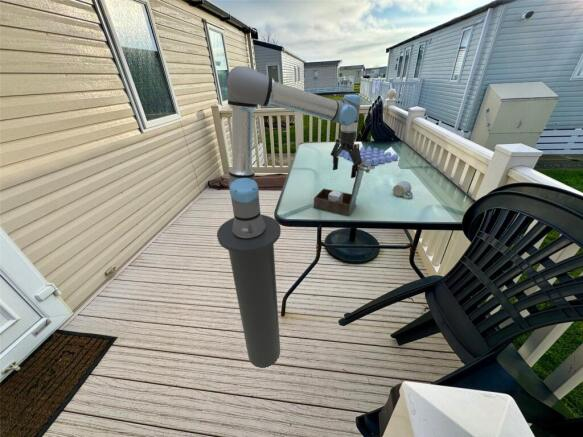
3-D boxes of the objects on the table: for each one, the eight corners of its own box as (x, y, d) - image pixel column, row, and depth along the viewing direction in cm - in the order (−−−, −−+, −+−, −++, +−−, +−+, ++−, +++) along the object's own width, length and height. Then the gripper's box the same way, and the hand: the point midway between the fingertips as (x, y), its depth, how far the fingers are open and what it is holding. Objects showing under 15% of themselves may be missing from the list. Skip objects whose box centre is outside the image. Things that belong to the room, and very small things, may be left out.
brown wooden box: (313, 207, 132) (314, 197, 129) (322, 198, 142) (323, 188, 139) (348, 216, 124) (349, 205, 121) (355, 205, 134) (356, 195, 131)
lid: (358, 166, 110) (368, 168, 108) (365, 158, 119) (375, 160, 118) (349, 204, 121) (358, 207, 119) (356, 194, 131) (365, 196, 129)
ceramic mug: (390, 194, 144) (393, 182, 140) (397, 190, 149) (400, 178, 145) (407, 201, 138) (411, 188, 133) (414, 196, 142) (418, 184, 138)
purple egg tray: (338, 155, 211) (338, 149, 208) (368, 150, 224) (369, 144, 222) (366, 167, 184) (367, 161, 182) (399, 160, 198) (400, 154, 195)
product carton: (327, 206, 132) (328, 194, 128) (332, 201, 136) (333, 189, 132) (337, 209, 129) (338, 196, 125) (342, 204, 133) (343, 192, 129)
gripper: (374, 135, 109) (367, 179, 120) (336, 125, 127) (333, 165, 138) (362, 137, 105) (356, 182, 116) (325, 127, 123) (323, 167, 134)
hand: (343, 173), depth 127 cm, fingers open, 13 cm apart
